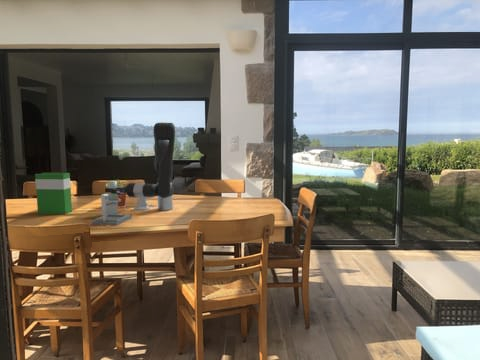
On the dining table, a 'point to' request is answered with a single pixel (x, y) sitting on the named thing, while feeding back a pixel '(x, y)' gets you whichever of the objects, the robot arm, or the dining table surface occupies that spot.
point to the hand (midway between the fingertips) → (108, 189)
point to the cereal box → (53, 193)
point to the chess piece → (141, 204)
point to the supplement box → (108, 206)
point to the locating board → (111, 219)
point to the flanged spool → (112, 197)
